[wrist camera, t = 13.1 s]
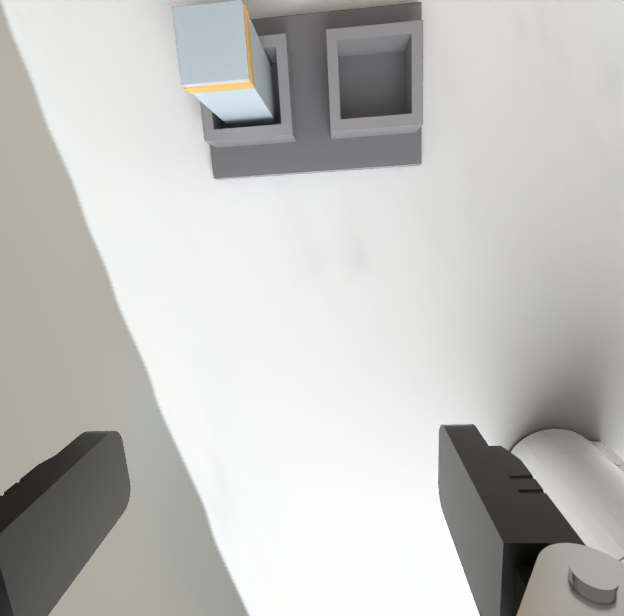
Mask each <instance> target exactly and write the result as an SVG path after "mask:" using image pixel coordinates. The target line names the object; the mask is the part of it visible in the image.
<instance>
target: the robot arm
mask: <svg viewBox="0 0 624 616" xmlns="http://www.w3.org/2000/svg"><path fill="white" fill-rule="evenodd" d="M438 484H439V495H440V502H441V506H442V510H443V513H444V516H445V519H446V522H447V525H448V527H449V530H450V533H451V536H452V539H453V541H454V544H455V547H456V550H457V553H458V555H459V558H460V561H461V564H462V566H463V569H464V572H465V575H466V578H467V580H468V583H469V586H470V589H471V592H472V594H473V597H474V600H475V603H476V606H477V608H478V611H479V614H480V616H624V461H623V460H622V459H621V458H620V457H618V456H617V455H616V454H615V453H614V452H612V451H611V450H610V449H609V448H608V447H606V446H605V445H604V444H603V443H602V442H594V441H589V440H588V439H586V438H585V437H583V436H582V435H580V434H578V433H576V432H573V431H570V430H565V429H546V430H541V431H538V432H535V433H533V434H530V435H529V436H527V437H525V438H524V439H522V440H521V441H520V442H519V443H518V444H516V445H515V446H514V448H513V449H512V451H511V452H509V451H508V450H506V449H505V448H503V447H502V446H488V444H487V443H486V441H485V440H484V438H483V437H482V435H481V434H480V432H479V431H478V429H477V428H476V427H475V425H473V424H469V425H441V426H440V429H439V477H438ZM129 497H130V481H129V475H128V469H127V464H126V458H125V453H124V447H123V441H122V438H121V436H120V434H119V433H118V432H116V431H93V432H92V431H91V432H84V433H82V434H81V435H80V436H78V437H77V438H76V439H75V440H74V441H72V442H71V443H70V444H69V445H67V446H66V447H65V448H64V449H63V450H62V451H60V452H59V453H58V454H57V455H55V456H54V457H52V458H50V459H48V460H46V461H44V462H43V463H41V464H39V465H37V466H36V467H35V468H34V469H32V470H31V471H30V472H29V473H27V474H26V475H25V476H24V477H23V478H21V479H20V482H19V483H15V484H14V485H13V486H11V487H10V488H9V489H8V490H7V491H6V492H4V495H3V496H0V616H48V615H49V613H50V612H51V611H52V609H53V608H54V606H55V605H56V604H57V602H58V601H59V600H60V598H61V597H62V595H63V594H64V593H65V592H66V590H67V589H68V587H69V586H70V585H71V583H72V582H73V581H74V579H75V578H76V577H77V575H78V574H79V573H80V571H81V570H82V568H83V567H84V566H85V564H86V563H87V561H88V560H89V559H90V558H91V556H92V555H93V553H94V552H95V550H96V549H97V548H98V547H99V545H100V544H101V543H102V541H103V540H104V538H105V537H106V536H107V534H108V533H109V532H110V530H111V529H112V528H113V526H114V525H115V524H116V522H117V521H118V519H119V518H120V517H121V515H122V514H123V513H124V511H125V509H126V507H127V504H128V501H129Z"/></svg>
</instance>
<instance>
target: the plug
mask: <svg viewBox="0 0 624 616" xmlns="http://www.w3.org/2000/svg"><path fill="white" fill-rule="evenodd" d="M172 9H173V17H174V26H175V34H176V43H177V51H178V60H179V68H180V76H181V85H182V86H183V87H184V89H185V90H186V91H187V92H188V93H190V94H193V95H194V96H195V97H196V98H197V99H198V100H199V101H201V102H202V103H203V104H204V105H205V106H206V107H208V108H209V109H210V110H211V111H212V112H213V113H215V114H216V115H217V116H218V117H219V118H220V119H222V120H223V121H224V122H225V123H226V124H227V125H229V126H230V127H231V128H237V127H250V126H262V125H275V124H277V110H276V96H275V82H274V72H273V69H272V67H271V65H270V63H269V60H268V58H267V56H266V53H265V51H264V49H263V47H262V44H261V42H260V40H259V37H258V35H257V33H256V31H255V28H254V26H253V24H252V21H251V19H250V17H249V12H248V9H247V7H246V5H245V4H244V3H243V1H242V0H235V1H226V2H216V3H207V4H198V5H188V6H179V7H172Z"/></svg>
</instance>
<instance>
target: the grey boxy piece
mask: <svg viewBox="0 0 624 616" xmlns="http://www.w3.org/2000/svg"><path fill="white" fill-rule="evenodd" d="M251 21H252V24H253V26H254V28H255V31H256V33H257V35H258V37H259V40H260V42H261V44H262V47H263V49H264V51H265V53H266V56H267V58H268V60H269V63H270V65H271V67H272V69H273V72H274V82H275V96H276V110H277V124H275V125H262V126H250V127H237V128H231V127H230V126H229V125H227V124H226V123H225V122H224V121H223V120H222V119H220V118H219V117H218V116H217V115H216V114H215V113H213V112H212V111H211V110H210V109H209V108H208V107H206V106H205V105H204V104H203V103H202V102H201V101H200V102H201V111H202V120H203V129H204V138H205V142H207V143H209V144H210V147H211V156H212V166H213V175H214V179H217V180H218V179H232V178H247V177H261V176H275V175H289V174H303V173H318V172H332V171H346V170H360V169H374V168H389V167H403V166H417V165H420V164H421V125H422V124H423V20H421V2H419V3H409V4H399V5H389V6H379V7H370V8H360V9H350V10H340V11H330V12H320V13H311V14H301V15H291V16H281V17H271V18H262V19H252V20H251Z"/></svg>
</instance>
